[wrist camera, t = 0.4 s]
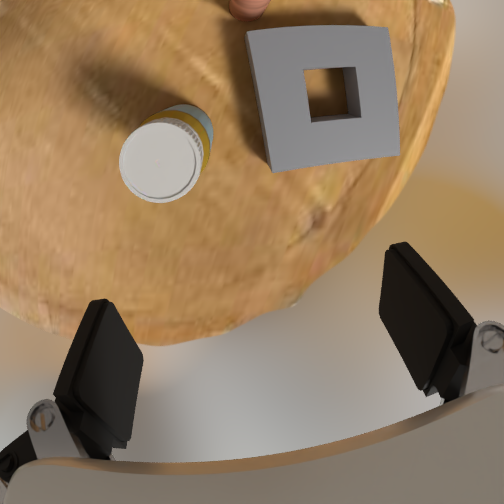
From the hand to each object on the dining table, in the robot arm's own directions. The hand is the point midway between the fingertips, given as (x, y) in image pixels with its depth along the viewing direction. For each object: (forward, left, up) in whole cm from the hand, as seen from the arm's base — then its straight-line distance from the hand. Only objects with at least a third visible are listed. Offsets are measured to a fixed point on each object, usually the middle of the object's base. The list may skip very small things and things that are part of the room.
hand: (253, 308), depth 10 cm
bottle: (-2, -5, -29) cm, 29 cm away
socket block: (-4, +12, -29) cm, 31 cm away
